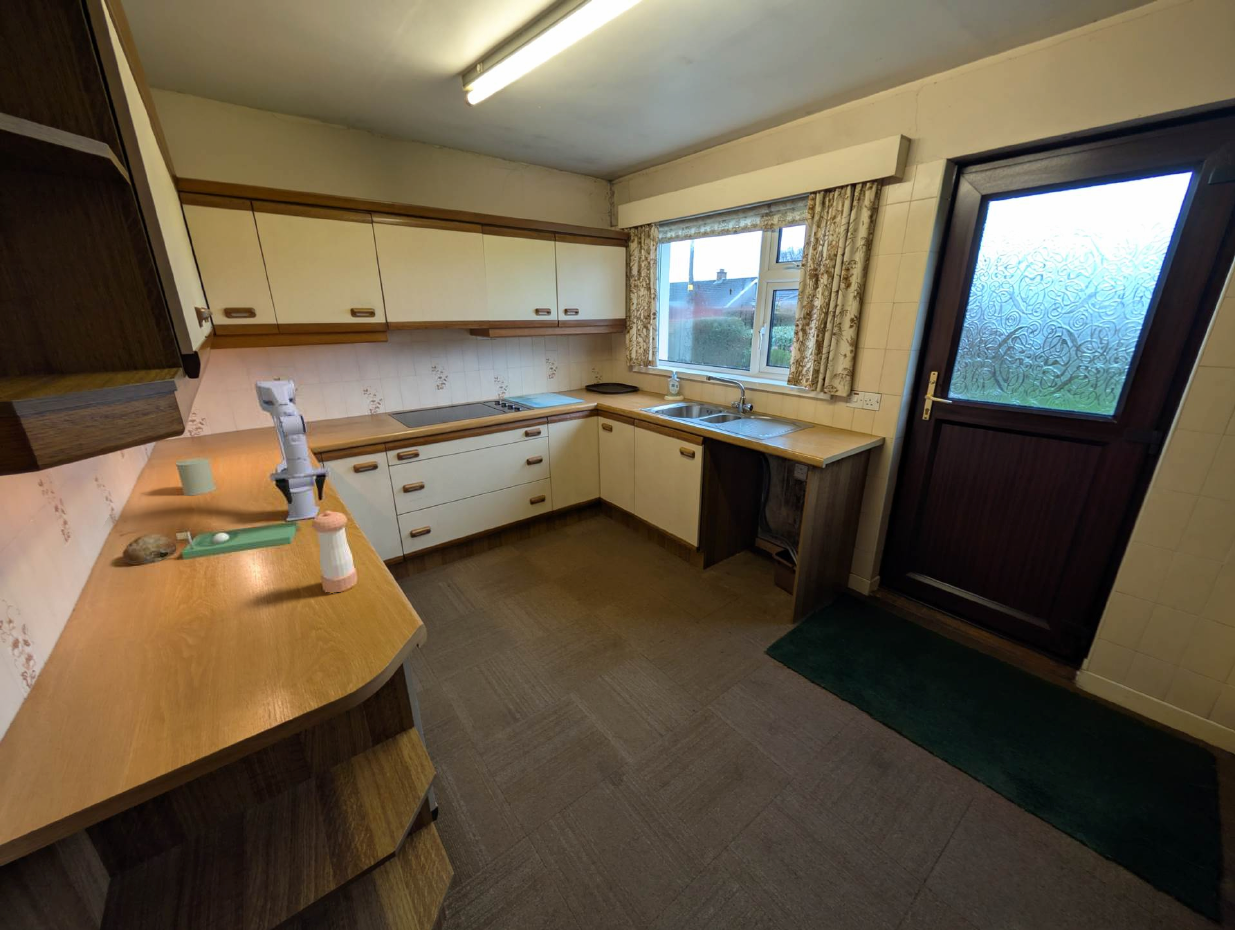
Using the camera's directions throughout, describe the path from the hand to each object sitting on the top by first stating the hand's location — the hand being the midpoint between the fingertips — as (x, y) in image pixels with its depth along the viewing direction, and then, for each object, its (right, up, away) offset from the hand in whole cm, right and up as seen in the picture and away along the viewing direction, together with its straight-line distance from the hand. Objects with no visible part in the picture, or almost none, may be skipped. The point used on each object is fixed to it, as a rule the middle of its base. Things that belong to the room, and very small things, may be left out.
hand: (305, 501), depth 141 cm
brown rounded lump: (-32, -14, -14) cm, 38 cm away
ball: (-18, -11, -7) cm, 22 cm away
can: (-61, +1, +34) cm, 70 cm away
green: (-14, -11, -5) cm, 19 cm away
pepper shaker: (+26, -18, -27) cm, 42 cm away
